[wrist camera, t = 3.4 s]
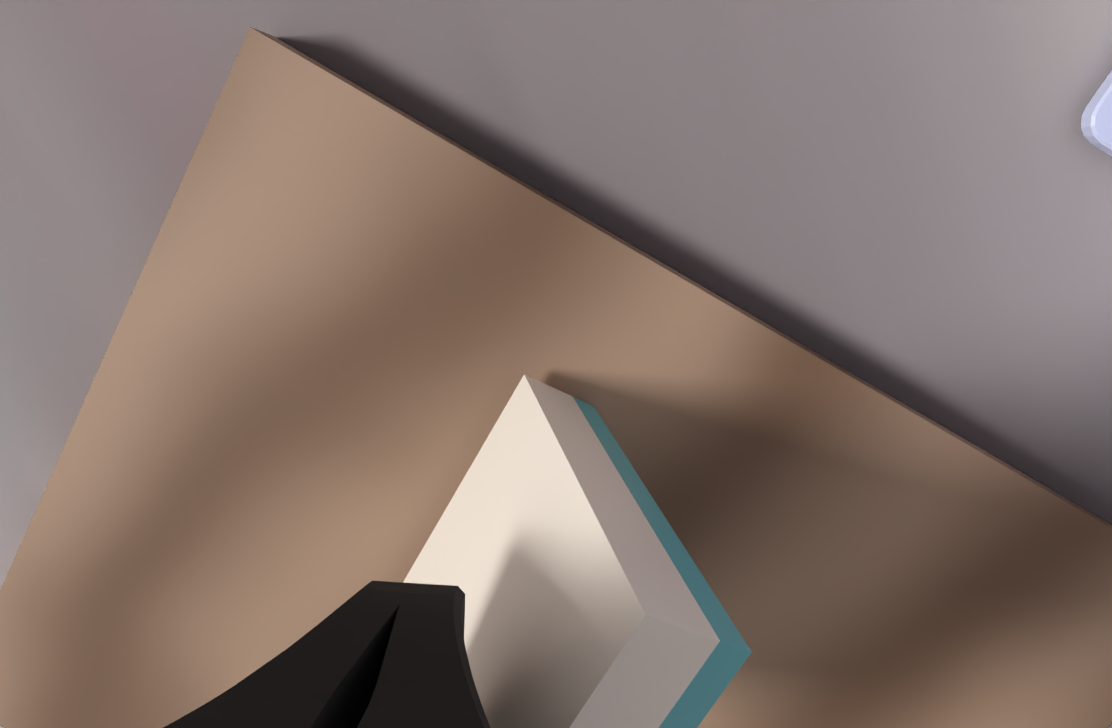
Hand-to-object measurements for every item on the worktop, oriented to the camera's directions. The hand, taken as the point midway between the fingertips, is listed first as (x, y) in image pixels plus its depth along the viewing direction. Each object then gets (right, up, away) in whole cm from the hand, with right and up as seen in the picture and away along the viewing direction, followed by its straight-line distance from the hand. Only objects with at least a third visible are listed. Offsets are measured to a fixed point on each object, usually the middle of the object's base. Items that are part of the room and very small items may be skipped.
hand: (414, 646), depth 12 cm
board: (+2, -2, +7) cm, 8 cm away
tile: (+1, +1, +5) cm, 5 cm away
